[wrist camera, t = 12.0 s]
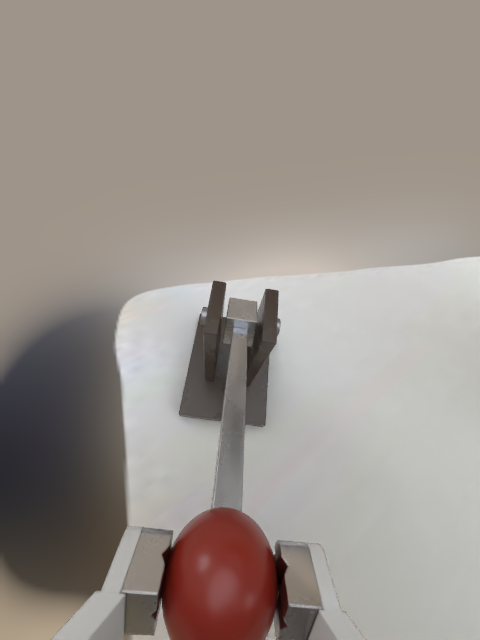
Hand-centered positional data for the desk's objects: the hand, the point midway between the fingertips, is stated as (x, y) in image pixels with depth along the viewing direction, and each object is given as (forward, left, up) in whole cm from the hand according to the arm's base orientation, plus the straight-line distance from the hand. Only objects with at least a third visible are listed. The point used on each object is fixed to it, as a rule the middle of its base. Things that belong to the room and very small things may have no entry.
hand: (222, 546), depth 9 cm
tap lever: (+1, -5, -4) cm, 6 cm away
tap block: (+2, -12, -18) cm, 22 cm away
